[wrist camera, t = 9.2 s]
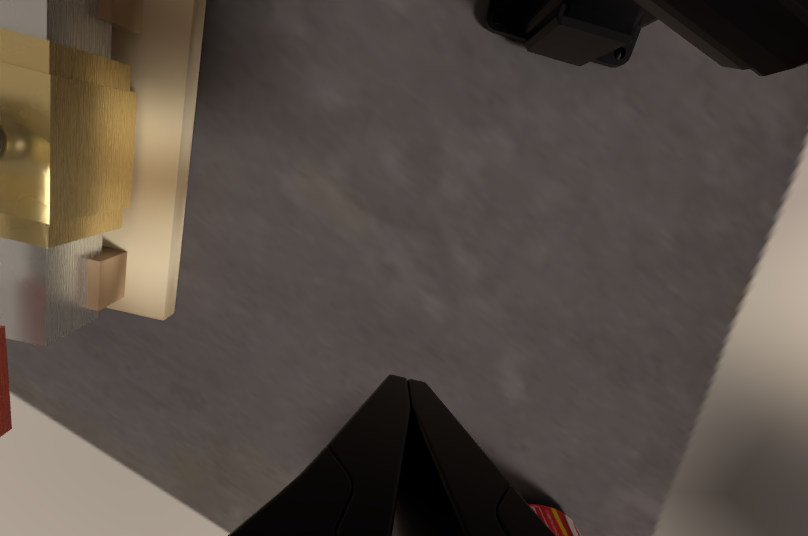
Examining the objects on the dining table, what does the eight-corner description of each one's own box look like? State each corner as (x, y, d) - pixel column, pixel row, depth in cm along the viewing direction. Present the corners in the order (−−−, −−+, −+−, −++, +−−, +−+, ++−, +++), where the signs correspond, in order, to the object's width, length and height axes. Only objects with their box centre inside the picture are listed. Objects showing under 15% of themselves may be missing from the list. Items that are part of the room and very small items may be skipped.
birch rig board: (12, -85, 16) (-65, -132, 14) (209, -28, 17) (172, -62, 14) (18, 277, 21) (-40, 296, 18) (174, 312, 21) (141, 336, 19)
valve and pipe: (29, -91, 15) (-163, -213, 10) (146, -56, 16) (19, -158, 10) (31, 293, 20) (-101, 345, 14) (123, 314, 20) (25, 372, 15)
